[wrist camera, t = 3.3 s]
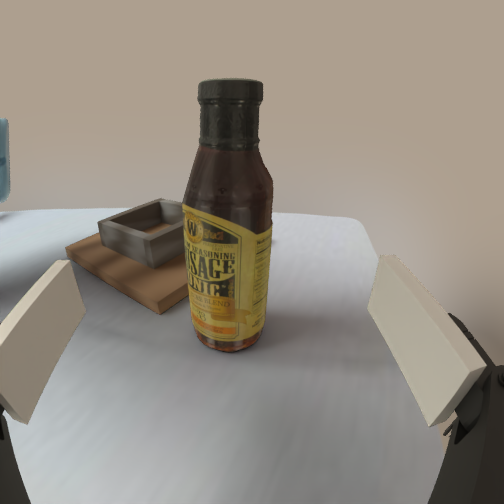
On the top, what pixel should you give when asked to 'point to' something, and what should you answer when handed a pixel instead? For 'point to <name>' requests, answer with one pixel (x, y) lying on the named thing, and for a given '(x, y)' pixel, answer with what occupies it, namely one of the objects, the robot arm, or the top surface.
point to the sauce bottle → (228, 217)
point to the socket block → (139, 254)
